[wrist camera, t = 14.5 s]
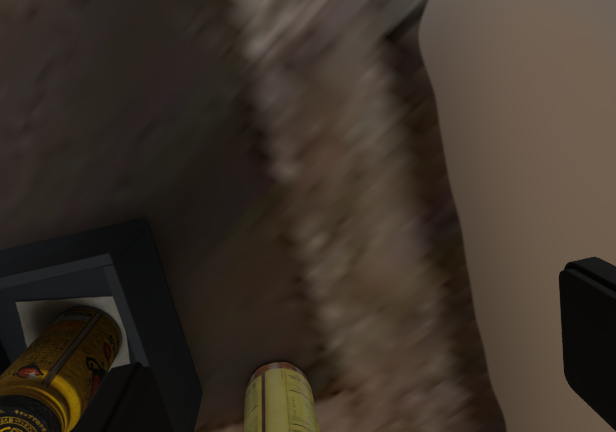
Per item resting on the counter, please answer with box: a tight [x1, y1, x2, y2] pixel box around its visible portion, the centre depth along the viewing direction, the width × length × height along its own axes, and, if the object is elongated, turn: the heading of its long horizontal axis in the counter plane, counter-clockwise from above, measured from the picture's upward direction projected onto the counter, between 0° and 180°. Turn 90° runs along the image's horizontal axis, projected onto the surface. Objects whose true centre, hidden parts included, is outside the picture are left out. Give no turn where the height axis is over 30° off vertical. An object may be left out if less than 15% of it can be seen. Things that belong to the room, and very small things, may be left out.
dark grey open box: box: [0, 218, 202, 432], centre depth 35 cm, size 18×16×9 cm
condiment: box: [0, 296, 130, 432], centre depth 33 cm, size 7×8×12 cm
